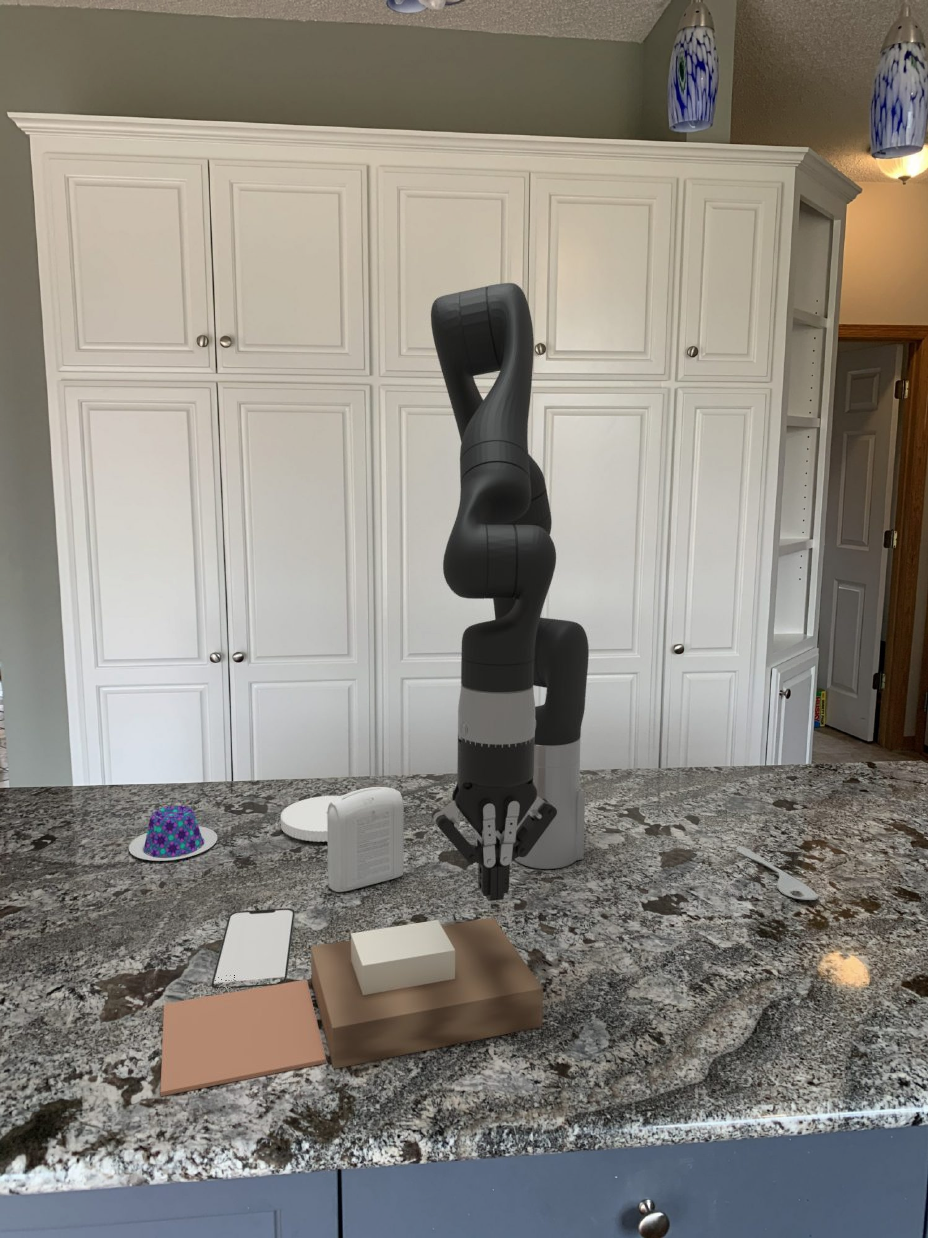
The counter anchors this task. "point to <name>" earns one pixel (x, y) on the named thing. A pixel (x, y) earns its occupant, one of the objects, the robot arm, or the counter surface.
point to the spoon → (782, 878)
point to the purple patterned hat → (172, 835)
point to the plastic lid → (307, 818)
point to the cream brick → (402, 957)
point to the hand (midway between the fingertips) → (493, 897)
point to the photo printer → (365, 838)
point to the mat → (238, 1036)
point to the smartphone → (255, 946)
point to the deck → (427, 999)
